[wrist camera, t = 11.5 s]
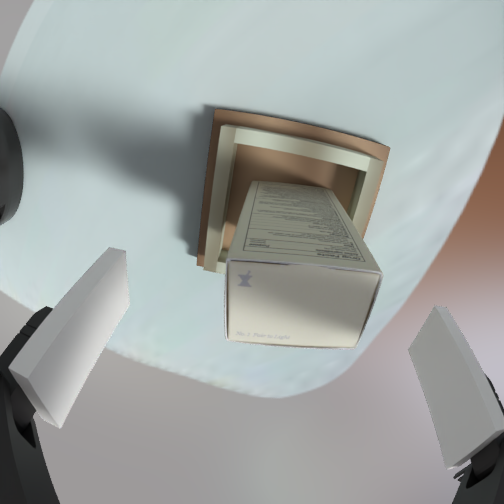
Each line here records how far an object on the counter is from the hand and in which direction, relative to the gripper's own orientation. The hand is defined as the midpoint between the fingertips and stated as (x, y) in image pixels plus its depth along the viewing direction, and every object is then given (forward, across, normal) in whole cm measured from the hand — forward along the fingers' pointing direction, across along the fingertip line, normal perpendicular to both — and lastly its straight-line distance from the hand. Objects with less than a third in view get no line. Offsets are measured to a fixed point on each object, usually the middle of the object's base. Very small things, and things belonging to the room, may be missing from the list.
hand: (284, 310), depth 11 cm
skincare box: (+12, +1, 0) cm, 12 cm away
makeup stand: (+13, 0, 0) cm, 13 cm away
